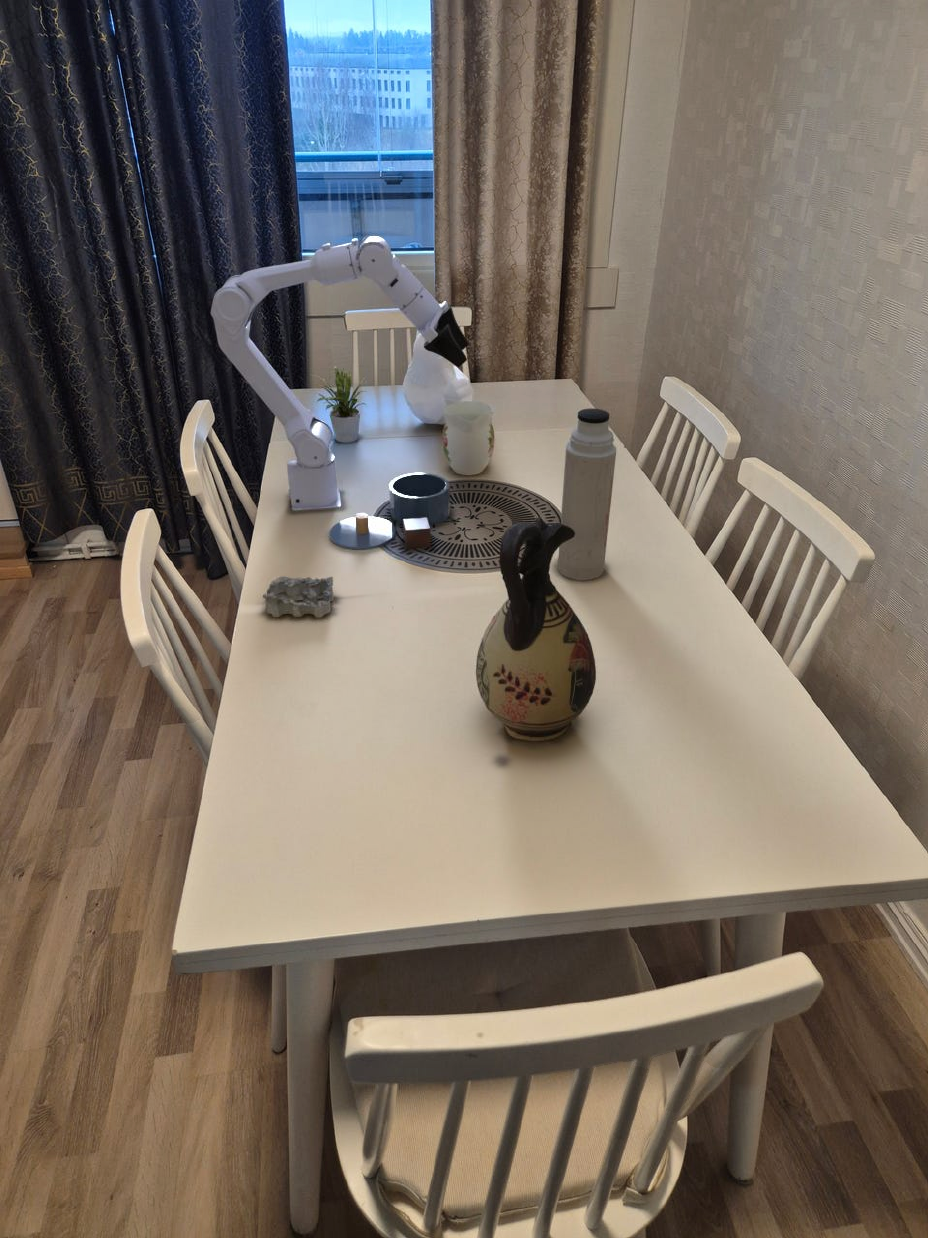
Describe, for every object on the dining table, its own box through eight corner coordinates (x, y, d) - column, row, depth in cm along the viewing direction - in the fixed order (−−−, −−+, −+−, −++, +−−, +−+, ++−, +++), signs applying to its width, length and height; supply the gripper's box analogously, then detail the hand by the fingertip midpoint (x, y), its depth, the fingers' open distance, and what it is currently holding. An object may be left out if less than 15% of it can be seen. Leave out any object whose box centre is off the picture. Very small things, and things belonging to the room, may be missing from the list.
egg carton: (262, 618, 134) (258, 596, 131) (274, 592, 140) (270, 571, 138) (329, 619, 133) (326, 598, 131) (337, 594, 139) (335, 573, 137)
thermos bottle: (605, 559, 149) (621, 405, 133) (602, 582, 142) (618, 423, 127) (560, 555, 150) (570, 402, 135) (555, 577, 144) (565, 419, 128)
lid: (331, 555, 150) (328, 533, 148) (328, 524, 160) (326, 503, 158) (399, 549, 152) (398, 528, 149) (392, 519, 162) (391, 498, 159)
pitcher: (490, 450, 190) (491, 390, 182) (496, 484, 175) (497, 420, 167) (442, 451, 190) (441, 391, 182) (443, 484, 175) (442, 421, 167)
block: (406, 552, 151) (405, 530, 149) (403, 540, 155) (402, 519, 152) (430, 550, 152) (430, 528, 149) (427, 538, 155) (427, 517, 153)
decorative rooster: (397, 381, 209) (389, 317, 185) (457, 365, 211) (457, 299, 187) (426, 468, 202) (422, 413, 178) (489, 450, 204) (493, 393, 180)
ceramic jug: (519, 669, 122) (528, 478, 105) (612, 713, 114) (637, 514, 97) (443, 730, 111) (440, 527, 95) (539, 783, 103) (554, 572, 86)
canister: (393, 530, 158) (392, 500, 154) (388, 504, 167) (386, 474, 164) (453, 526, 159) (453, 495, 156) (445, 500, 169) (444, 470, 165)
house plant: (305, 431, 200) (297, 362, 191) (360, 422, 205) (355, 354, 196) (323, 452, 189) (316, 380, 180) (381, 442, 194) (377, 372, 185)
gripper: (424, 295, 140) (479, 355, 146) (431, 270, 151) (481, 327, 157) (394, 323, 143) (449, 381, 149) (403, 296, 154) (453, 351, 160)
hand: (463, 355), depth 153 cm, fingers open, 7 cm apart
